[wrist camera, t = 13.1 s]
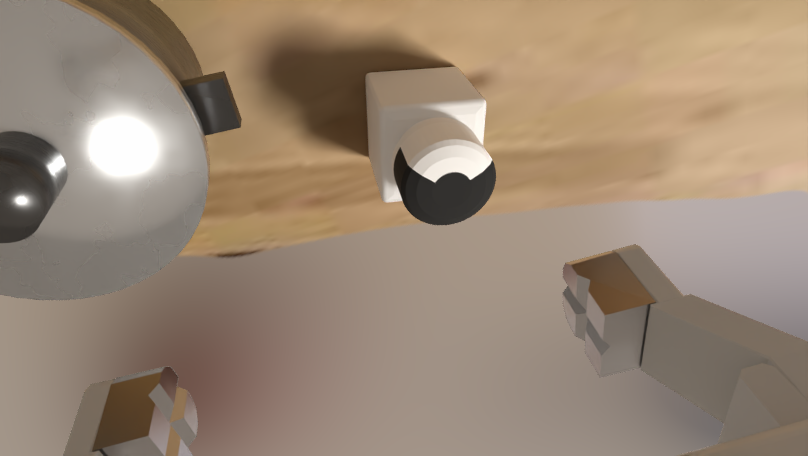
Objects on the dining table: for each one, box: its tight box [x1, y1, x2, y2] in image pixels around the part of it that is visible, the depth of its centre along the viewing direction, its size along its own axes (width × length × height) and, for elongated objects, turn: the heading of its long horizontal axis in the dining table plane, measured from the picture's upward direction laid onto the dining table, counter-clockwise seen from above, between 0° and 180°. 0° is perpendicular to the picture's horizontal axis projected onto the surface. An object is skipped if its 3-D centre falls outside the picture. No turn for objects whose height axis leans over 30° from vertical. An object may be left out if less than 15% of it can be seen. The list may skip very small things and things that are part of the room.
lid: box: [0, 0, 210, 300], centre depth 28 cm, size 18×18×5 cm
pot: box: [77, 0, 242, 135], centre depth 34 cm, size 17×22×10 cm
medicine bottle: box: [365, 67, 496, 225], centre depth 39 cm, size 7×7×12 cm
